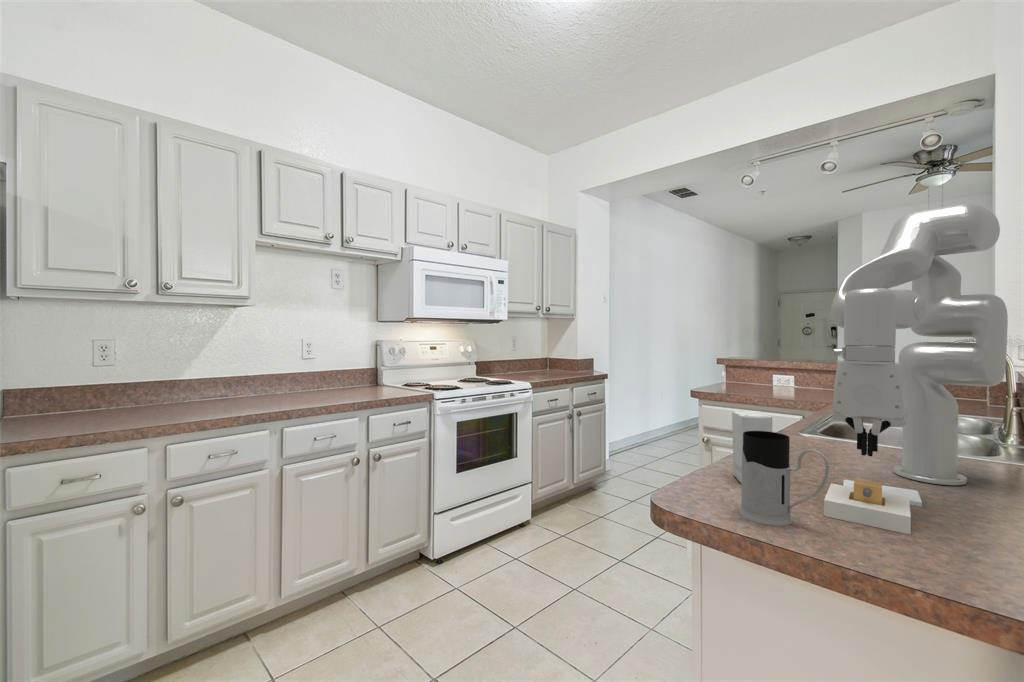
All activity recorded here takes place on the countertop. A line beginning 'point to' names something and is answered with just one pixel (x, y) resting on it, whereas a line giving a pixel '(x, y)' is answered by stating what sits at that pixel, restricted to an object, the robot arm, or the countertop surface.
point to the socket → (868, 509)
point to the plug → (868, 491)
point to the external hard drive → (896, 492)
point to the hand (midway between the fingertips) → (867, 454)
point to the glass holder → (769, 478)
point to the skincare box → (741, 425)
